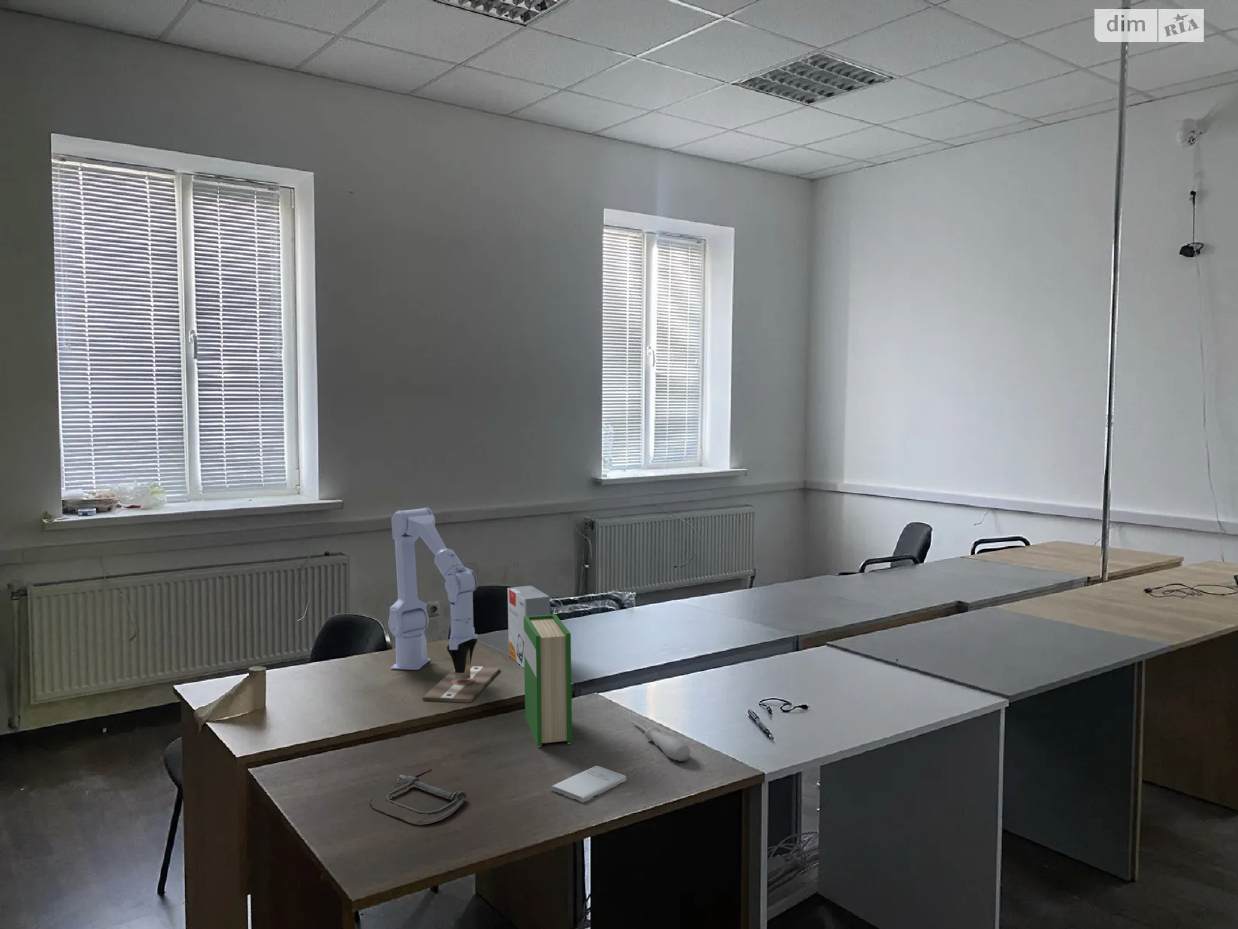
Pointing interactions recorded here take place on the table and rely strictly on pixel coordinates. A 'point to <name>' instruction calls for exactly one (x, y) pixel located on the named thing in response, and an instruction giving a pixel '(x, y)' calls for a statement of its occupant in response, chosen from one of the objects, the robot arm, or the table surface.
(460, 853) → the table surface
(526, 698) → the hardback book
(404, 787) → the c clamp
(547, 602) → the hard drive box
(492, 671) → the board
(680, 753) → the screwdriver
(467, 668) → the tan cylinder
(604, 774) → the external hard drive
